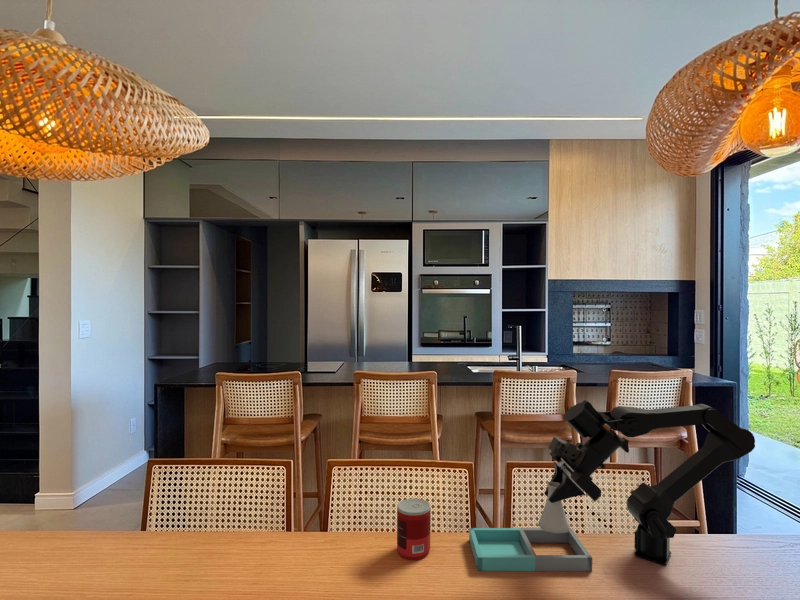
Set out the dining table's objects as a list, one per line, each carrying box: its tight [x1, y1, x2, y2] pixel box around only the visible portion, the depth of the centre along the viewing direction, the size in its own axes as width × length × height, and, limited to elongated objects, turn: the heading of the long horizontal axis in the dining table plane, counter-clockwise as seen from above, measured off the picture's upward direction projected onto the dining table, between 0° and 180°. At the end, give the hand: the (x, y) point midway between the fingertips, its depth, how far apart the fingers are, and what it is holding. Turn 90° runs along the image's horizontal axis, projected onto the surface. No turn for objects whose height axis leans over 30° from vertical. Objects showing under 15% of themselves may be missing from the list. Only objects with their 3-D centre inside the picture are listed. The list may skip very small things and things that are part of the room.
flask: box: [537, 481, 571, 534], centre depth 112 cm, size 7×7×10 cm
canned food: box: [396, 498, 432, 561], centre depth 113 cm, size 8×8×11 cm
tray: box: [468, 527, 593, 572], centre depth 112 cm, size 25×13×3 cm, turn 90°
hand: (547, 498), depth 112 cm, fingers closed on flask, 3 cm apart
